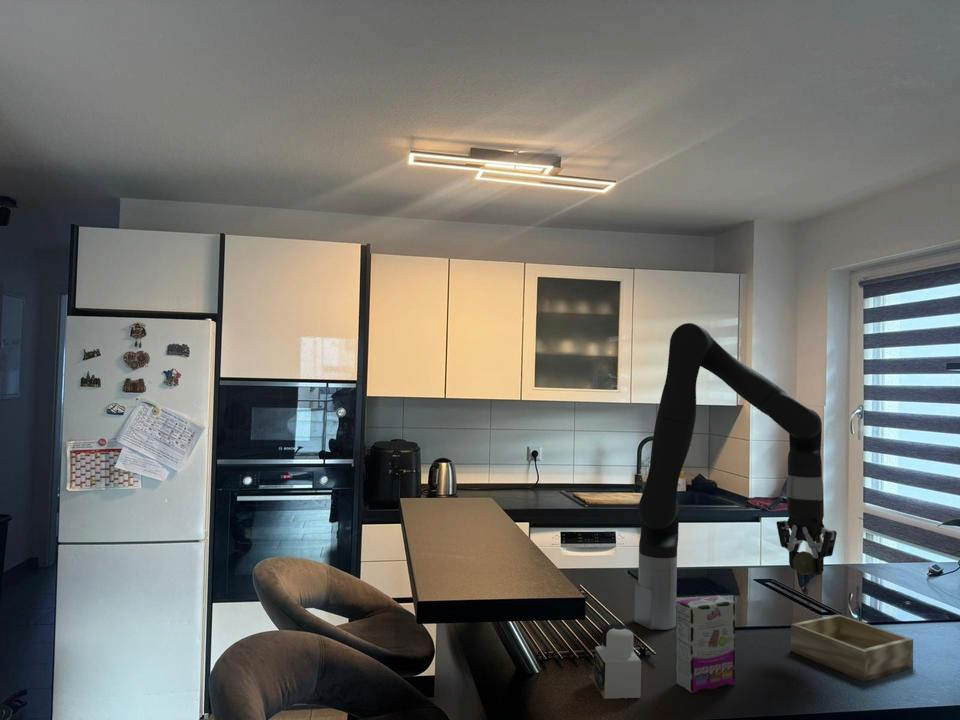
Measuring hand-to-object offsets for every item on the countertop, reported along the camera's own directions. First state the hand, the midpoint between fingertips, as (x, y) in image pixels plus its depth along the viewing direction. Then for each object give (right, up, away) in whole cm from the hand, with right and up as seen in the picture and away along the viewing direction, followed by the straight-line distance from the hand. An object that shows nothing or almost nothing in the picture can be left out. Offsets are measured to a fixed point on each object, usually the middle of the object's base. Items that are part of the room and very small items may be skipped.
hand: (806, 571), depth 149 cm
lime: (0, -1, 0) cm, 1 cm away
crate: (+8, -18, -4) cm, 20 cm away
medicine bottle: (-48, -16, -23) cm, 55 cm away
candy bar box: (-29, -17, -19) cm, 39 cm away
